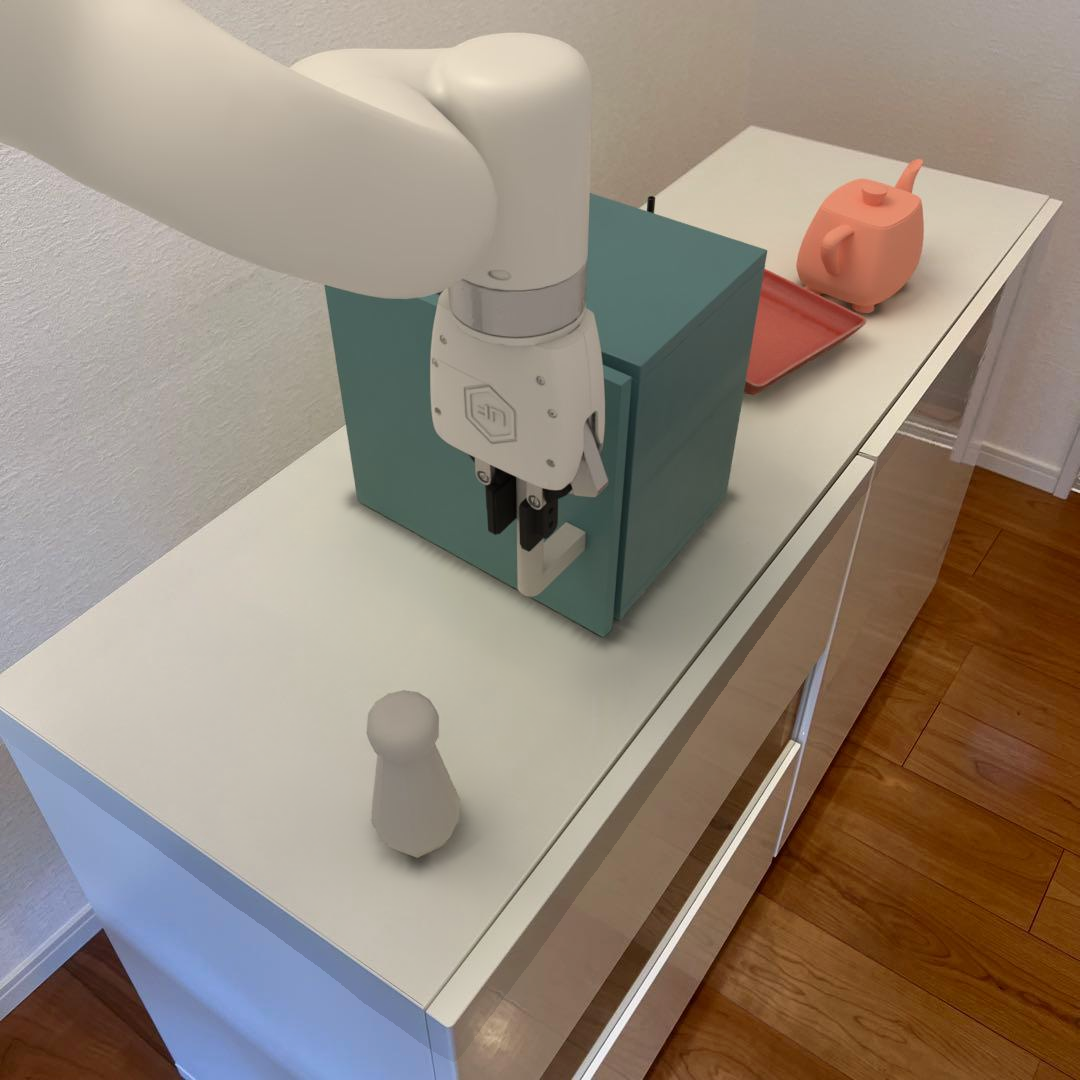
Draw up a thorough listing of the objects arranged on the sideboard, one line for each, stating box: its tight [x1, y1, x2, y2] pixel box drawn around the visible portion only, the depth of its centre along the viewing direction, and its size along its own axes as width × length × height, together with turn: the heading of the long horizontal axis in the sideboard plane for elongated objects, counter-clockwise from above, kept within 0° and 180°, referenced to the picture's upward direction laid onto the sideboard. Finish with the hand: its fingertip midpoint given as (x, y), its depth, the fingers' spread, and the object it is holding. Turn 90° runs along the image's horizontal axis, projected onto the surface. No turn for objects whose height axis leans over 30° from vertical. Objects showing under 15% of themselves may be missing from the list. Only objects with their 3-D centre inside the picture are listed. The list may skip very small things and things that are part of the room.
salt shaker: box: [366, 689, 461, 859], centre depth 67 cm, size 6×6×13 cm
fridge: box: [436, 192, 768, 621], centre depth 88 cm, size 18×26×24 cm
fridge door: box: [323, 284, 632, 638], centre depth 80 cm, size 8×26×24 cm, turn 53°
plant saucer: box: [744, 268, 867, 396], centre depth 112 cm, size 18×18×3 cm
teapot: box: [795, 158, 925, 314], centre depth 118 cm, size 20×12×12 cm, turn 140°
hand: (522, 528), depth 71 cm, fingers closed on fridge door, 2 cm apart
